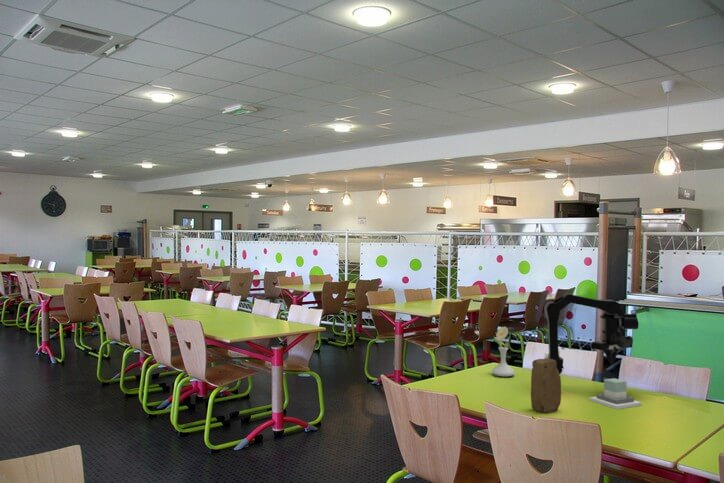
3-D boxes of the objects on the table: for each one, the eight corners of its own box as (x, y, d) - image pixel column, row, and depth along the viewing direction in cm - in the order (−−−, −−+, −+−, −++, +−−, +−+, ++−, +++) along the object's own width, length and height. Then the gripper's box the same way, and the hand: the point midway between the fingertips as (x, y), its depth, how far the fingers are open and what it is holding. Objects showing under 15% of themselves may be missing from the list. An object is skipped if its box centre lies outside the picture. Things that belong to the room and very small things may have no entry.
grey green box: (615, 402, 226) (615, 382, 226) (603, 398, 231) (603, 379, 231) (626, 400, 228) (626, 381, 228) (614, 397, 233) (614, 378, 234)
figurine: (551, 373, 282) (551, 344, 282) (564, 377, 273) (564, 347, 274) (539, 374, 280) (540, 345, 280) (552, 379, 271) (552, 348, 271)
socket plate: (616, 409, 220) (616, 402, 220) (589, 400, 233) (589, 393, 233) (641, 405, 226) (641, 398, 226) (613, 396, 239) (613, 390, 239)
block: (541, 414, 213) (541, 362, 213) (528, 409, 220) (528, 358, 220) (563, 411, 217) (563, 360, 217) (550, 406, 224) (550, 356, 224)
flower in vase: (489, 372, 283) (489, 323, 284) (512, 373, 283) (512, 324, 283) (494, 378, 270) (495, 327, 271) (518, 379, 270) (518, 327, 270)
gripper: (610, 332, 233) (610, 369, 232) (642, 330, 240) (642, 366, 240) (590, 328, 243) (590, 364, 243) (621, 326, 250) (621, 361, 250)
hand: (611, 364), depth 243 cm, fingers closed
